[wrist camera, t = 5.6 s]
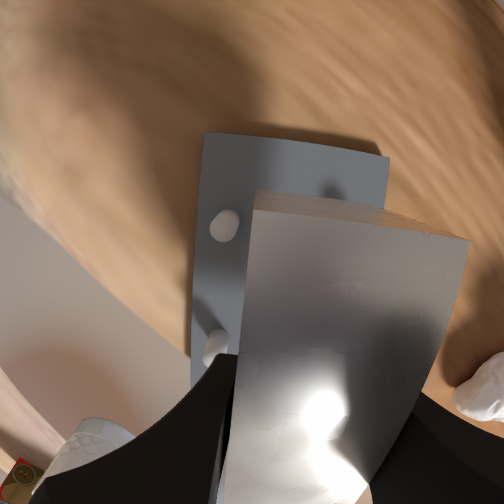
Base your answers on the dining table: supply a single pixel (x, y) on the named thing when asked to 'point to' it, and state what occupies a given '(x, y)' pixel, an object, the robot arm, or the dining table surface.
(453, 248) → the block
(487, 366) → the bust
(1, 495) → the toy box
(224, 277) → the pin tray
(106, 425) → the white cup
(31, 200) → the dining table surface
